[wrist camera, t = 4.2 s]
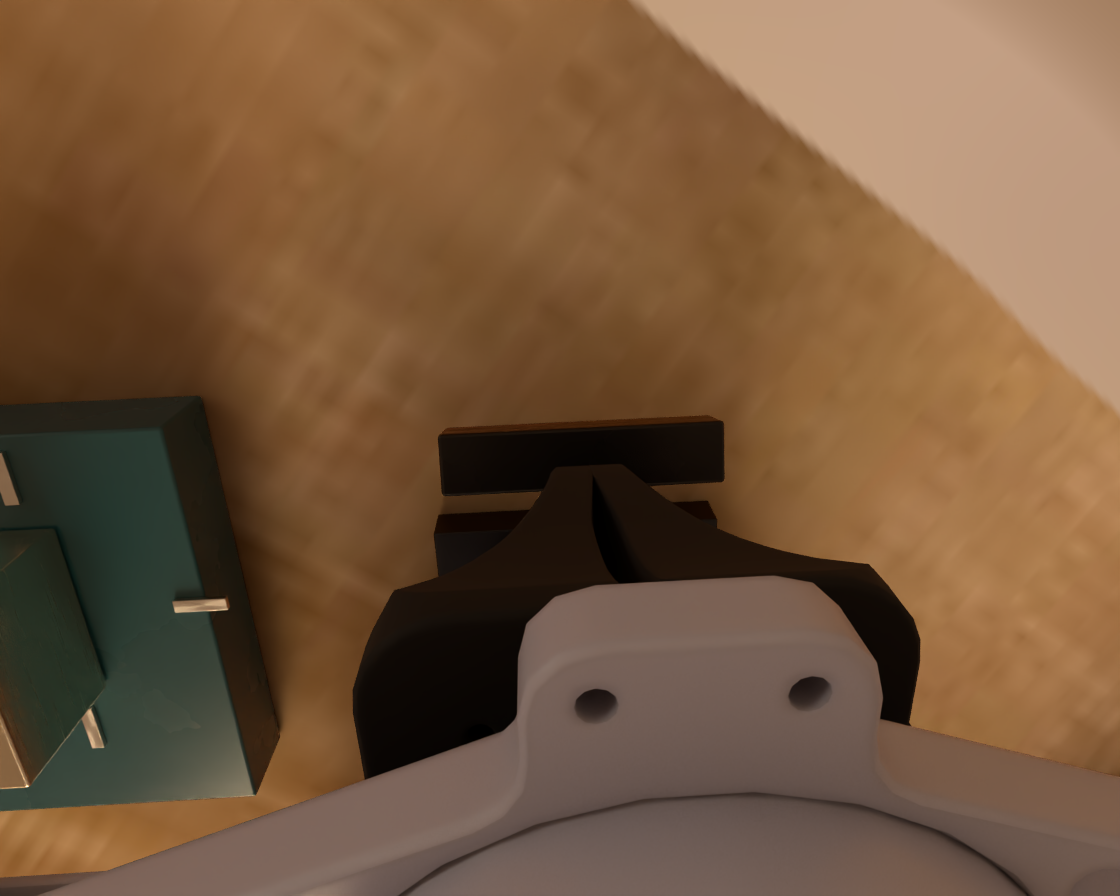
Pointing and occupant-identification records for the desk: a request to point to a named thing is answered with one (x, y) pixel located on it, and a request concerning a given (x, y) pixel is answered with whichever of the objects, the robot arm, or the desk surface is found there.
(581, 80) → the desk surface
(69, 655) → the tan rectangular block
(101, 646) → the panel
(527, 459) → the faucet lever
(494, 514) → the faucet stand
